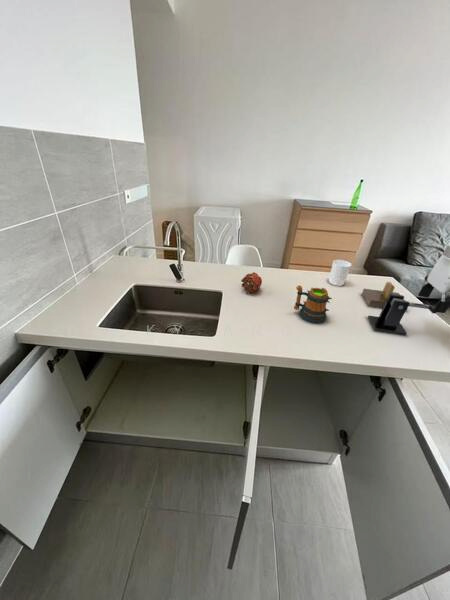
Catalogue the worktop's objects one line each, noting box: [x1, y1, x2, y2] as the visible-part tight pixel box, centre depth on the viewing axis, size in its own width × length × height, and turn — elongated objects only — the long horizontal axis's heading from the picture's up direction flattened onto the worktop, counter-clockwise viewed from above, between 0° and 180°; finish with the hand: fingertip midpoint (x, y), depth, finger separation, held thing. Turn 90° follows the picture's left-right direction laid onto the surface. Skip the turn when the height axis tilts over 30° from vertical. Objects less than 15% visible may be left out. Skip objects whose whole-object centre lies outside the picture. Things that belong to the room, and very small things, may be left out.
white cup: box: [328, 259, 353, 287], centre depth 113 cm, size 8×8×10 cm
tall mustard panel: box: [381, 281, 396, 299], centre depth 98 cm, size 5×1×6 cm, turn 169°
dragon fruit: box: [240, 272, 263, 293], centre depth 104 cm, size 8×8×12 cm
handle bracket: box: [367, 294, 411, 336], centre depth 84 cm, size 10×8×12 cm
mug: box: [293, 285, 333, 325], centre depth 88 cm, size 13×10×12 cm
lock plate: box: [361, 288, 406, 309], centre depth 101 cm, size 14×10×3 cm
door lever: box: [390, 298, 437, 315], centre depth 81 cm, size 12×6×2 cm, turn 79°
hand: (430, 303), depth 80 cm, fingers open, 9 cm apart
